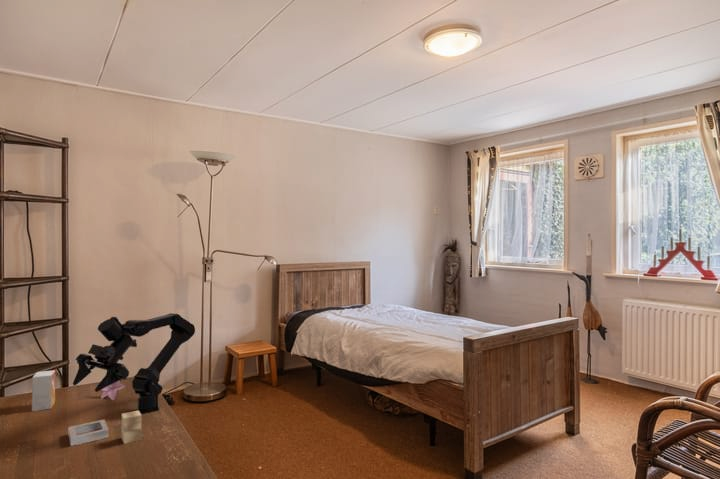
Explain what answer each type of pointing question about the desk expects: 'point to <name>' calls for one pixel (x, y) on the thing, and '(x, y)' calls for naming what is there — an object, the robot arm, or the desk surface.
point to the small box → (43, 390)
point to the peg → (131, 426)
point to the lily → (112, 390)
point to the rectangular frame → (88, 436)
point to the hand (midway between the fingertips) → (84, 387)
